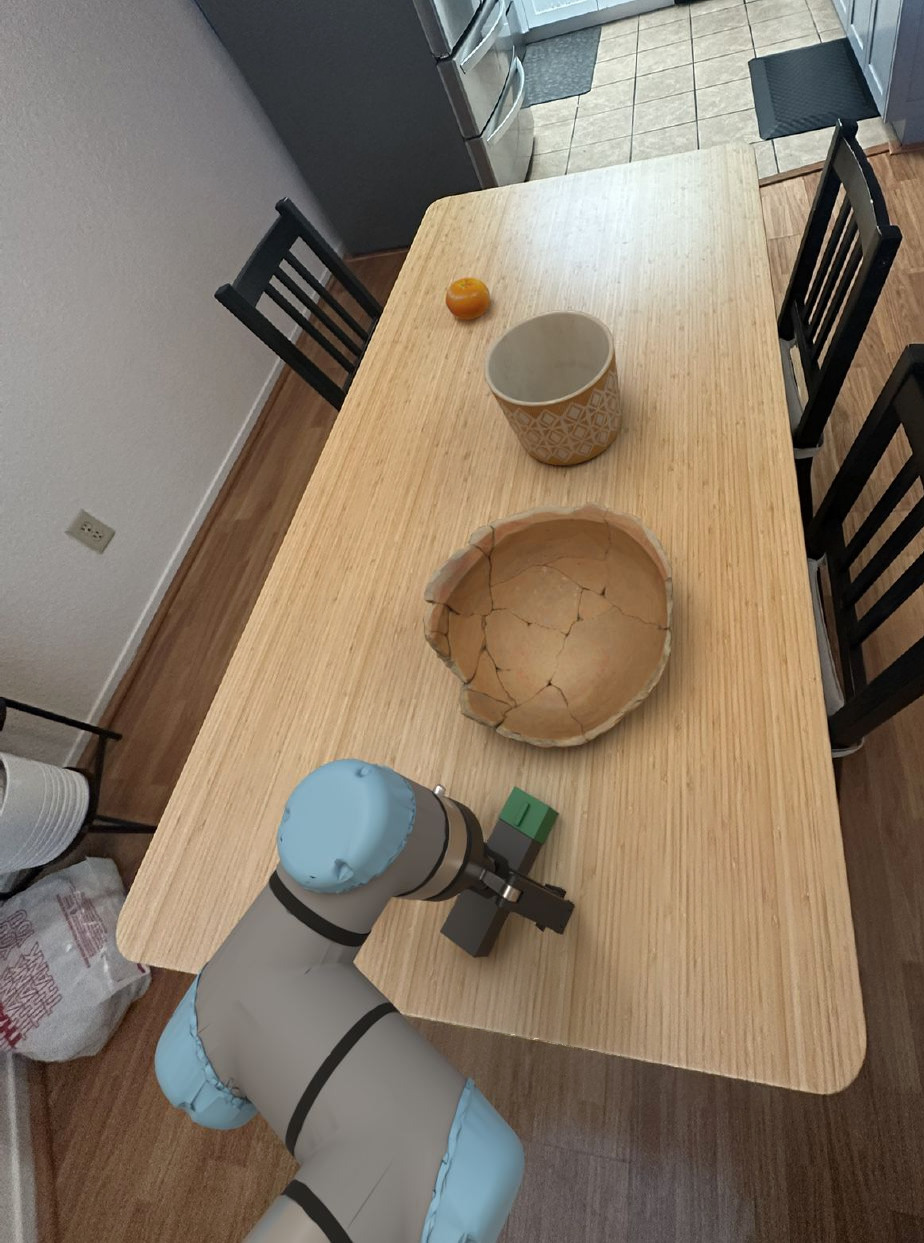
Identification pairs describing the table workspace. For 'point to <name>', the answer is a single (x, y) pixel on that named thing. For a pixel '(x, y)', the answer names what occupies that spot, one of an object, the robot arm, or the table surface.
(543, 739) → the ceramic bowl
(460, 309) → the fruit
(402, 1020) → the robot arm
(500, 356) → the planter
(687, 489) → the table surface
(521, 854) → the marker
